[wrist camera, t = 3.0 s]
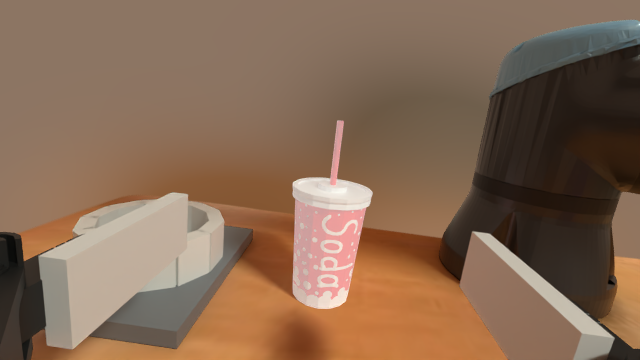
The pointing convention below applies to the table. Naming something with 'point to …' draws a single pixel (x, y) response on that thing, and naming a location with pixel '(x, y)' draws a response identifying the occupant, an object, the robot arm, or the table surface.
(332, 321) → the table surface
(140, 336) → the cup holder
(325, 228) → the beverage cup
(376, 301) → the table surface
